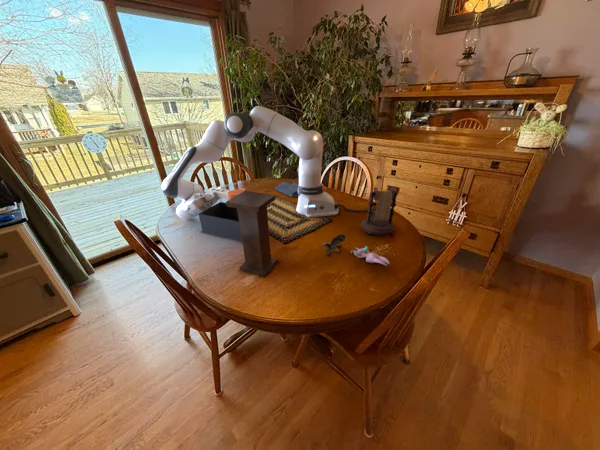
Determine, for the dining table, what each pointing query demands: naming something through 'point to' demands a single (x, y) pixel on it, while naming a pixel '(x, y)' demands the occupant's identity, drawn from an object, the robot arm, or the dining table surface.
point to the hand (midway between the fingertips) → (218, 192)
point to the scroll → (381, 213)
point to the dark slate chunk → (288, 188)
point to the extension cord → (224, 193)
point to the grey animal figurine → (334, 243)
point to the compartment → (221, 221)
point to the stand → (254, 231)
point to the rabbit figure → (370, 256)
